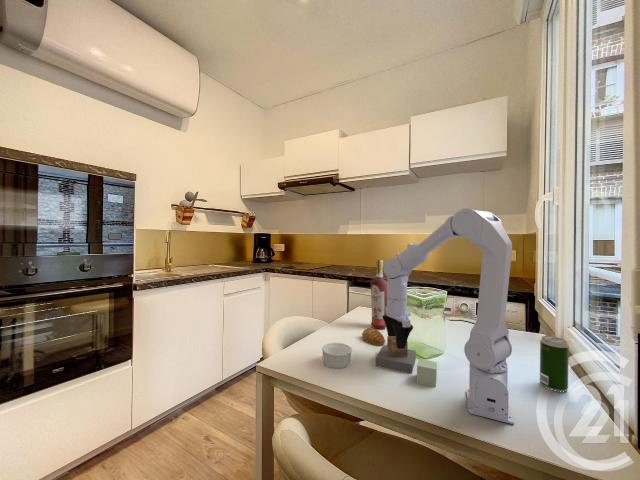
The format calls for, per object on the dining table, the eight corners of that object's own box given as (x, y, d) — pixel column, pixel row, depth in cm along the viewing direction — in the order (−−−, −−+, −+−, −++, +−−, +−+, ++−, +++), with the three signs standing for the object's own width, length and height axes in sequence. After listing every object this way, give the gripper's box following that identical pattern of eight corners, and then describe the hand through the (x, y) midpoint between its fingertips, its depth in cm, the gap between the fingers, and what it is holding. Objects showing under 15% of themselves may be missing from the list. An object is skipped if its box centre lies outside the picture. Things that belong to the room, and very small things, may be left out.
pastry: (390, 345, 94) (390, 334, 94) (373, 348, 91) (373, 337, 91) (375, 335, 103) (375, 326, 103) (359, 338, 100) (359, 328, 100)
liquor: (391, 327, 112) (392, 260, 112) (382, 331, 107) (382, 261, 106) (376, 323, 117) (376, 259, 117) (366, 327, 112) (367, 260, 111)
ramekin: (357, 362, 80) (357, 348, 80) (338, 373, 74) (339, 357, 74) (334, 353, 86) (335, 340, 86) (315, 362, 80) (315, 348, 80)
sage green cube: (435, 387, 67) (436, 369, 67) (416, 383, 69) (417, 365, 69) (436, 378, 71) (436, 362, 71) (418, 374, 73) (418, 358, 73)
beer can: (556, 394, 64) (557, 344, 64) (534, 382, 70) (534, 336, 70) (573, 391, 66) (574, 342, 65) (550, 380, 71) (551, 334, 71)
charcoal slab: (411, 375, 74) (412, 364, 74) (375, 367, 78) (375, 357, 78) (415, 360, 83) (415, 350, 83) (383, 354, 87) (383, 345, 87)
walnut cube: (407, 356, 78) (407, 341, 78) (392, 357, 78) (392, 342, 78) (401, 350, 83) (401, 336, 83) (387, 351, 82) (387, 336, 82)
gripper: (421, 304, 73) (420, 353, 74) (400, 293, 88) (399, 334, 88) (396, 304, 73) (395, 354, 73) (379, 293, 87) (378, 335, 87)
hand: (396, 343), depth 80 cm, fingers open, 6 cm apart
